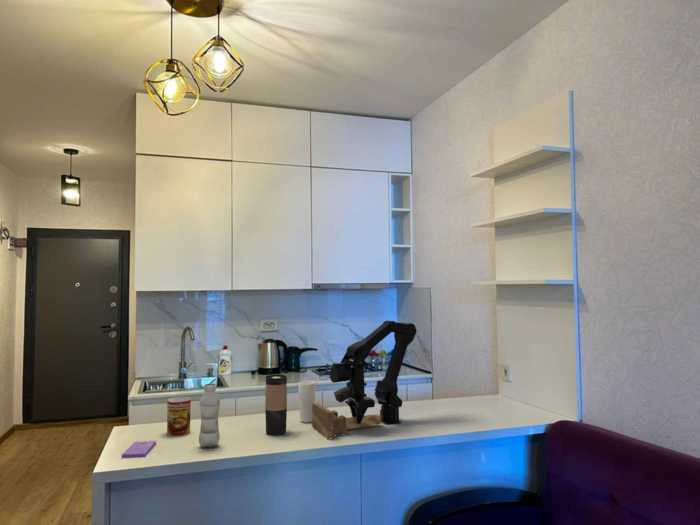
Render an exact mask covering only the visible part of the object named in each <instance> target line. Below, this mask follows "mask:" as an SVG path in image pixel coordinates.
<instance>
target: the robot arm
mask: <svg viewBox="0 0 700 525" xmlns="http://www.w3.org/2000/svg"><path fill="white" fill-rule="evenodd" d="M392 333H394V335H393V337H394V346H393V350H392V352H391V356H390V358H389V363H388V365H387V368H386V371H385V375H384V377H383V379H382V380H379V379H378V380H377V382H376V386H375V388H374V396H375V398H376V400H377V404H378V405H380V410H379V415H380V421H381V423H383V424H385V425H391V424H392V425H393V424H400V423H402V421H401V420H400V408H401V407H402V406H403V400H402V399H401V397H399V396H398V390H399V387H398V382H397V381H398V379H399V375H400V372H401V370H402V368H401V367H402V365H403V362H404V358H405V355H406V351H407V348H408V347H409V346H410V344H411V343H413V341H414V339H415V337H416V334H417V327H416V326H415V324H413V323H412V322H397V321H395V320H389V319H388V320H385V321H383V322H382V324H380V325H379V326H378V327H377V328H376V329H374V330H373V331H372V332H371V333H369V334H368V335H367V336H365V337H364V338H363V339H361V340H359V341H355V342H354V343H352V344H350V345H348V347H347V348H346V351H345V353H344V355H343V357H342V359H341V361H340V362H339V363H337V362H333V363H332V366H331V368H330V370H329V373H328V374H329V375H328V376H329V379H330V381H331V382H332V384H333V383H336V384H337V383H342V382H346V384H345V386H344V387H342V388H339V389H337V390H335V391H334V392H333V394H334V397H335V401H337V402H338V403H341V404H342V403H343V402H344V403H345V404H347V406H348V407H349V408H350V413H351V417H356V418H357V423H358V424H360V423H361V421H362V419H363V417H364V416H365V415H366V413H367V410H368V409H370V408H375V406H376V401H375V400H374V399H373V398H371V397H369V396H367V393H365V390H366V389H365V387H366V386H367V382H366V381H365V368H366V367H370V363H368V362H367V361H366V359H367V358H368V357H369V356H370V354H371V352H372V350H373V349H374V348H375V347H376V346H377V345H378V344H380V342H382V341H383V340H384V339H386V337H387V336H389V335H390V334H392Z"/></svg>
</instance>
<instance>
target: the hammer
mask: <svg viewBox="0 0 700 525" xmlns="http://www.w3.org/2000/svg"><path fill="white" fill-rule="evenodd" d="M333 418H337V416H335V415H334V414H333ZM381 424H382V422H381V421H380V414H378V413H374V414H367V415H366V414H364V417H363V419H362V421H361V423H360V424H358V423H357V418H356V417H352V416H350V417H346V429H351V428H359V427H360V428H361V427H369V426H377V425H381Z"/></svg>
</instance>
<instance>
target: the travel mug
mask: <svg viewBox="0 0 700 525" xmlns="http://www.w3.org/2000/svg"><path fill="white" fill-rule="evenodd" d="M287 380H288V378H287V375H286V374H268V375H266V376H265V406H264V408H265V410H264V411H265V434H266V435H268V436H275V437H277V435H278V436H281V435H282V436H283V435H285V434H286V433H287V416H288V415H287V412H288V399H287V398H288V384H287Z"/></svg>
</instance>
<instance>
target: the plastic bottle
mask: <svg viewBox="0 0 700 525" xmlns="http://www.w3.org/2000/svg"><path fill="white" fill-rule="evenodd" d="M216 391H217V385H216V383H206V384H204V385H203V394H202V396H201V397H200V400H199V408H200V409H199V410H200V418H201V419H200V430H199V431H200V432H199V435H198V444H199V445H200V447H203V448H212V447H216V446H218V445H219V442H220V438H221V436H220V434H221V433H220V429H219V415H220V413H219V411H220V406H221V398H220V396H219V394H218V393H217V392H216Z"/></svg>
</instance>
